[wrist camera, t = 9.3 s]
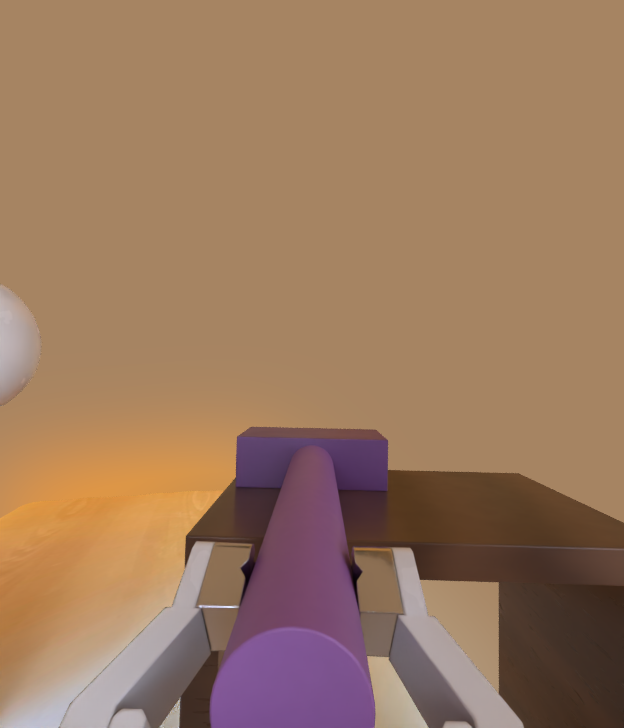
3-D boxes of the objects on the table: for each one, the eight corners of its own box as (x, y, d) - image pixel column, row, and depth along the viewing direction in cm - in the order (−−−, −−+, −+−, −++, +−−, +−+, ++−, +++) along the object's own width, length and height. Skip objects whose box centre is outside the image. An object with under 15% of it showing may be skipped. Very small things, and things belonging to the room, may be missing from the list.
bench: (161, 1206, 14) (185, 535, 15) (234, 823, 26) (244, 466, 27) (699, 1241, 13) (683, 550, 15) (520, 835, 25) (519, 473, 27)
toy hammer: (586, 814, 6) (585, 611, 6) (1, 789, 6) (12, 592, 6) (375, 472, 26) (376, 429, 26) (249, 468, 26) (250, 426, 26)
